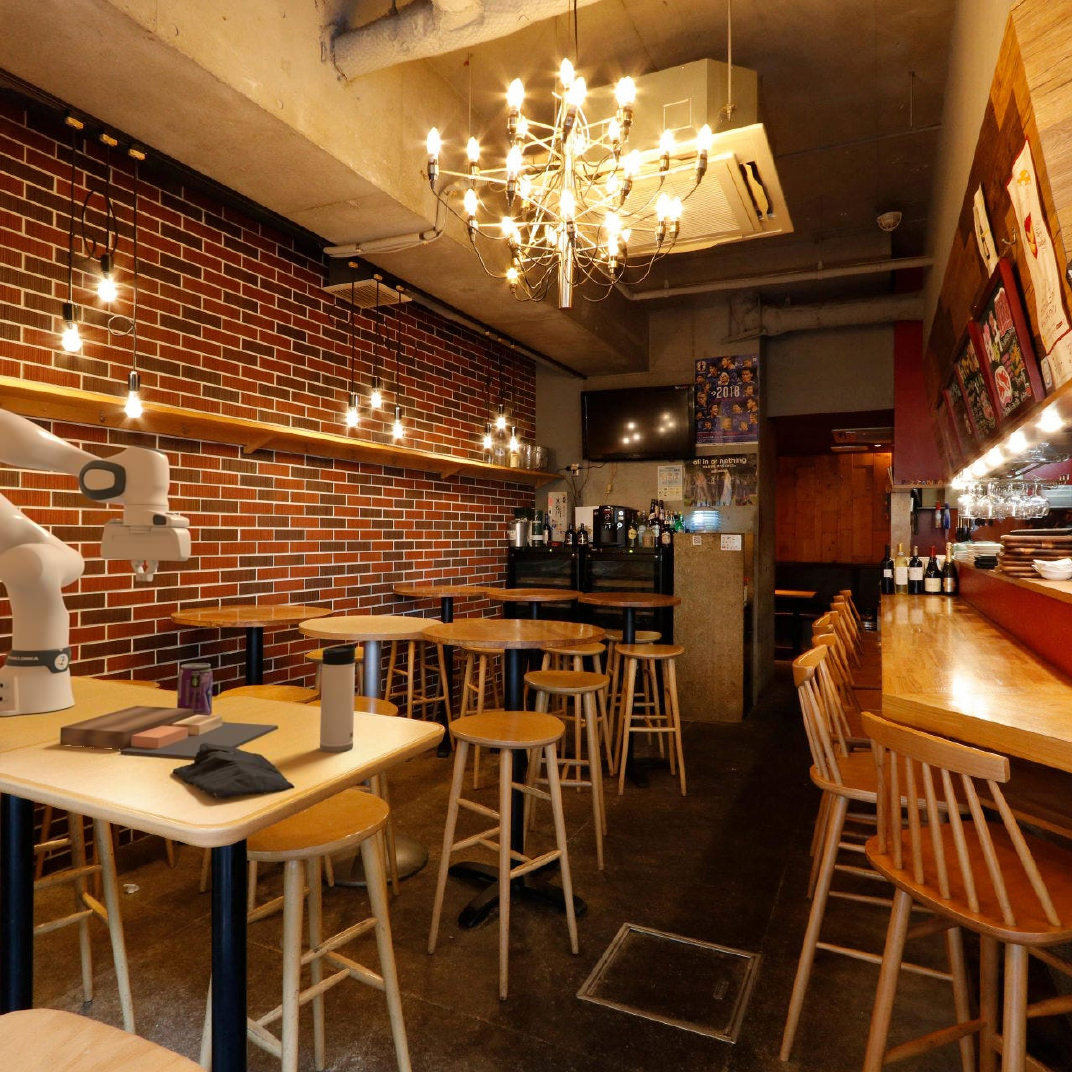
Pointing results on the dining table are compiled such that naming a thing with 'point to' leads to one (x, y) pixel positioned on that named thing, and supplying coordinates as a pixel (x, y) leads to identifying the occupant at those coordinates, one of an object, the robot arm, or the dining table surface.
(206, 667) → the beverage can
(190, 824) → the dining table surface
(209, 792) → the crumpled black cloth
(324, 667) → the travel mug
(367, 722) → the dining table surface
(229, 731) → the mat
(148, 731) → the tilted orange prism
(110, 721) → the walnut board
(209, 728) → the tan rectangular block
